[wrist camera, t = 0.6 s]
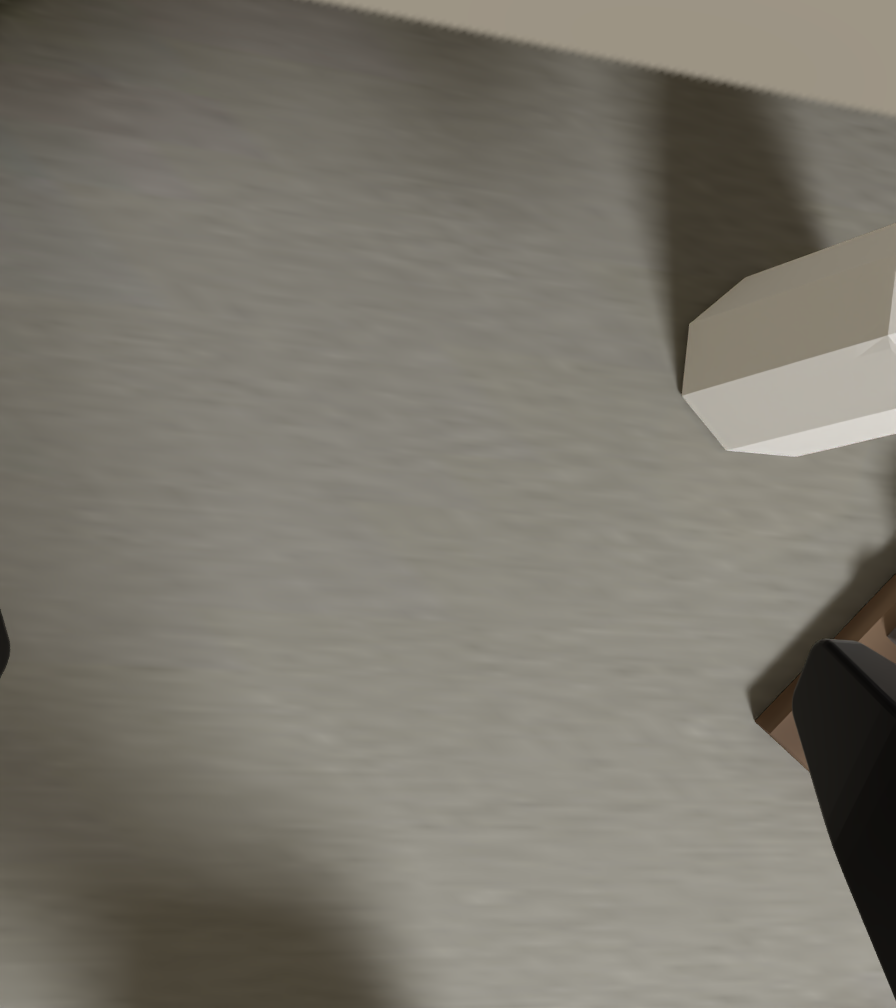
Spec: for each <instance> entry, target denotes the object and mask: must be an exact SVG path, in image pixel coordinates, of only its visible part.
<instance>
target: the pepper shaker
mask: <svg viewBox="0 0 896 1008" xmlns="http://www.w3.org/2000/svg"><path fill="white" fill-rule="evenodd" d="M682 397H683V398H684V399H685V400H686V402H687V403H688V404H689V405H690V407H691V408H692V409H693V410H694V412H695V413H696V414H697V415H698V416H699V418H700V419H701V420H702V421H703V423H704V424H705V425H706V426H707V428H708V429H709V430H710V431H711V432H712V434H713V435H714V436H715V437H716V439H717V440H718V441H719V442H720V444H721V445H722V446H723V447H724V449H725V450H726V451H737V452H749V453H760V454H771V455H782V456H794V457H797V456H802V455H806V454H810V453H814V452H819V451H823V450H827V449H832V448H836V447H840V446H845V445H849V444H853V443H858V442H862V441H866V440H871V439H875V438H879V437H884V436H888V435H892V434H896V223H894V224H892V225H889V226H886V227H883V228H881V229H878V230H875V231H872V232H869V233H867V234H864V235H861V236H858V237H856V238H853V239H850V240H847V241H845V242H842V243H839V244H836V245H833V246H831V247H828V248H825V249H822V250H820V251H817V252H814V253H811V254H809V255H806V256H803V257H800V258H797V259H795V260H792V261H789V262H786V263H784V264H781V265H778V266H775V267H773V268H770V269H767V270H764V271H761V272H759V273H756V274H753V275H750V276H748V277H745V278H744V279H743V280H741V281H740V282H739V283H738V284H737V285H735V286H734V287H733V288H732V289H731V290H729V291H728V292H727V293H726V294H725V295H723V296H722V297H721V298H720V299H719V300H717V301H716V302H715V303H714V304H713V305H711V306H710V307H709V308H708V309H707V310H705V311H704V312H703V313H702V314H701V315H699V316H698V317H697V318H696V319H695V320H694V321H692V322H691V323H690V324H689V332H688V341H687V351H686V360H685V370H684V379H683V389H682Z"/></svg>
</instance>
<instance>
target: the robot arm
mask: <svg viewBox="0 0 896 1008" xmlns="http://www.w3.org/2000/svg"><path fill="white" fill-rule="evenodd" d="M9 655H10V641H9V637H8V634H7V630H6V627H5V623H4V620H3V616H2V613H1V609H0V678H1V676H2V674H3V672H4V670H5V668H6V665H7V663H8V659H9ZM792 713H793V718H794V721H795V725H796V728H797V731H798V735H799V738H800V741H801V745H802V748H803V751H804V755H805V758H806V762H807V765H808V768H809V772H810V775H811V778H812V782H813V785H814V788H815V792H816V795H817V798H818V802H819V805H820V808H821V812H822V815H823V819H824V822H825V825H826V828H827V831H828V834H829V837H830V840H831V843H832V846H833V849H834V851H835V854H836V857H837V859H838V862H839V864H840V867H841V869H842V872H843V874H844V877H845V879H846V882H847V884H848V886H849V889H850V891H851V894H852V896H853V898H854V901H855V903H856V906H857V908H858V910H859V913H860V915H861V918H862V920H863V923H864V925H865V927H866V930H867V932H868V935H869V937H870V939H871V942H872V944H873V947H874V949H875V952H876V954H877V956H878V959H879V961H880V964H881V966H882V968H883V971H884V973H885V976H886V978H887V980H888V983H889V985H890V988H891V990H892V993H893V995H894V997H895V1000H896V664H895V663H893V662H892V661H890V660H888V659H887V658H885V657H883V656H882V655H880V654H879V653H877V652H875V651H874V650H872V649H870V648H869V647H867V646H865V645H864V644H862V643H860V642H857V641H853V640H838V639H821V640H819V641H817V642H816V643H815V644H814V645H813V646H812V648H811V650H810V652H809V655H808V657H807V660H806V662H805V665H804V667H803V670H802V672H801V675H800V677H799V680H798V682H797V685H796V687H795V690H794V693H793V697H792Z"/></svg>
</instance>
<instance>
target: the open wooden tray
mask: <svg viewBox="0 0 896 1008" xmlns="http://www.w3.org/2000/svg"><path fill="white" fill-rule="evenodd" d="M834 639H838V640H853V641H857V642H860V643H862V644H864V645H865V646H867V647H869V648H870V649H872V650H874V651H875V652H877V653H879V654H880V655H882V656H883V657H885V658H887V659H888V660H890V661H892V662H893V663H895V664H896V574H895V575H894V576H893V577H892V578H891V579H890V580H889V581H888V582H887V583H886V584H885V585H884V586H883V587H882V588H881V590H880V591H879V592H878V593H877V594H876V595H875V596H874V597H873V598H872V599H871V600H870V601H869V602H868V603H867V604H866V605H865V606H864V607H863V608H862V609H861V610H860V612H859V613H858V614H857V615H856V616H855V617H854V618H853V619H852V620H851V621H850V622H849V623H848V624H847V625H846V626H845V627H844V628H843V629H842V630H841V631H840V632H839V634H838V635H837V636H836V637H835V638H834ZM800 675H801V673H800V674H799V675H798V676H797V677H796V679H795V680H794V681H793V682H792V683H791V684H790V685H789V686H788V687H787V688H786V689H785V690H784V691H783V692H782V693H781V694H780V695H779V696H778V697H777V698H776V699H775V701H774V702H773V703H772V704H771V705H770V706H769V707H768V708H767V709H766V710H765V711H764V712H763V713H762V714H761V715H760V716H759V717H758V718H757V719H756V720H755V722H756V723H757V724H758V725H759V726H760V727H761V728H762V729H763V730H764V731H766V732H767V733H768V734H769V735H770V736H771V737H772V738H773V739H774V740H775V741H776V742H777V743H778V744H780V745H781V746H782V747H783V748H784V749H785V750H786V751H787V752H788V753H789V754H790V755H791V756H793V757H794V758H795V759H796V760H797V761H798V762H799V763H800V764H801V765H802V766H803V767H804V768H806V769H807V770H808V771H809V768H808V765H807V762H806V758H805V755H804V751H803V748H802V745H801V741H800V738H799V735H798V731H797V728H796V725H795V721H794V718H793V713H792V697H793V693H794V690H795V687H796V685H797V682H798V680H799V677H800Z"/></svg>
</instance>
